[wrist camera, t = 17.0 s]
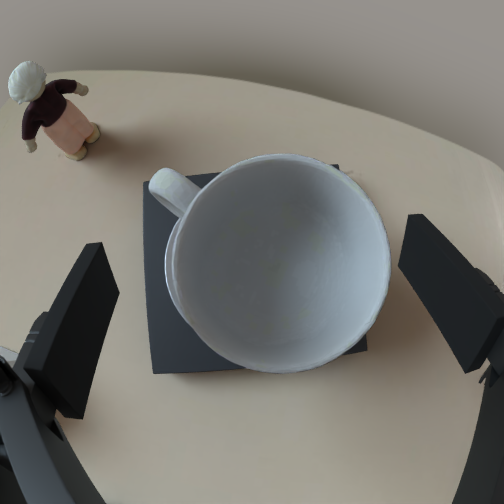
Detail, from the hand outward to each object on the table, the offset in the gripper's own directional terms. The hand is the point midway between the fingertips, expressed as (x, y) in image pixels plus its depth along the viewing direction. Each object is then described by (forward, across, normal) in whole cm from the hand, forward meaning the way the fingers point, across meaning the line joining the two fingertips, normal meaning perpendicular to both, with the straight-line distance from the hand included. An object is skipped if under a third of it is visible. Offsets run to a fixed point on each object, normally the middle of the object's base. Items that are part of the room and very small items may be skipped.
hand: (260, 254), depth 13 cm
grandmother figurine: (+20, -16, +2) cm, 26 cm away
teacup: (+8, 0, -6) cm, 10 cm away
